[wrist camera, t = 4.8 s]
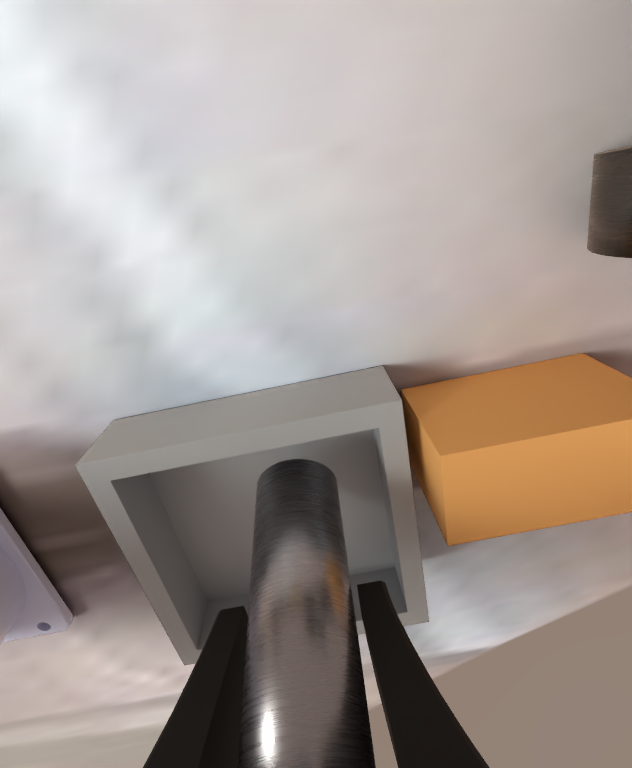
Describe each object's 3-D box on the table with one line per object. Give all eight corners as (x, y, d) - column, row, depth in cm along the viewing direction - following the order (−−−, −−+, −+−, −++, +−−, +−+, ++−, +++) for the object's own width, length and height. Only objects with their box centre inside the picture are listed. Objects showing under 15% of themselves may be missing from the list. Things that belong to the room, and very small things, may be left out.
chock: (409, 461, 15) (447, 545, 11) (400, 388, 13) (440, 456, 10) (574, 429, 14) (670, 505, 11) (580, 351, 13) (690, 407, 9)
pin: (262, 526, 13) (241, 961, 7) (227, 462, 11) (147, 987, 5) (358, 507, 13) (436, 942, 6) (339, 438, 11) (421, 960, 4)
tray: (199, 603, 17) (184, 665, 14) (113, 420, 13) (74, 465, 11) (410, 564, 16) (428, 621, 14) (382, 365, 13) (401, 399, 11)
